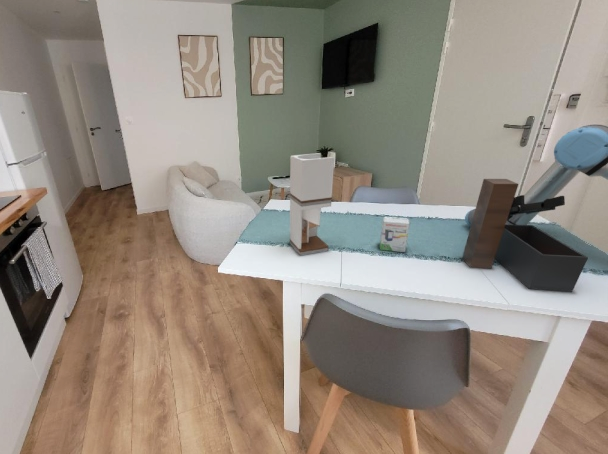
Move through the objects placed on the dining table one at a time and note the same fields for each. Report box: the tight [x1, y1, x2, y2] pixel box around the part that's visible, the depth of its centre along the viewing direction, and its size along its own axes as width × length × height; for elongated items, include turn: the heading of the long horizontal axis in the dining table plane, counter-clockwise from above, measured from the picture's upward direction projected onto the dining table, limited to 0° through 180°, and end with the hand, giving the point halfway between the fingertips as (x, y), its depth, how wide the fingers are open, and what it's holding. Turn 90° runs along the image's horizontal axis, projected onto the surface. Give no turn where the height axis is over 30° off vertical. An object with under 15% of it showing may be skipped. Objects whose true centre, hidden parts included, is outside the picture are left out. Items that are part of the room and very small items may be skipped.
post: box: [461, 178, 519, 269], centre depth 91 cm, size 6×6×28 cm
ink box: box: [379, 216, 411, 253], centre depth 107 cm, size 9×5×12 cm, turn 68°
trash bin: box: [494, 224, 589, 293], centre depth 90 cm, size 22×10×11 cm, turn 167°
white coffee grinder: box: [289, 152, 335, 256], centre depth 107 cm, size 11×11×35 cm
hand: (542, 199), depth 86 cm, fingers open, 9 cm apart
